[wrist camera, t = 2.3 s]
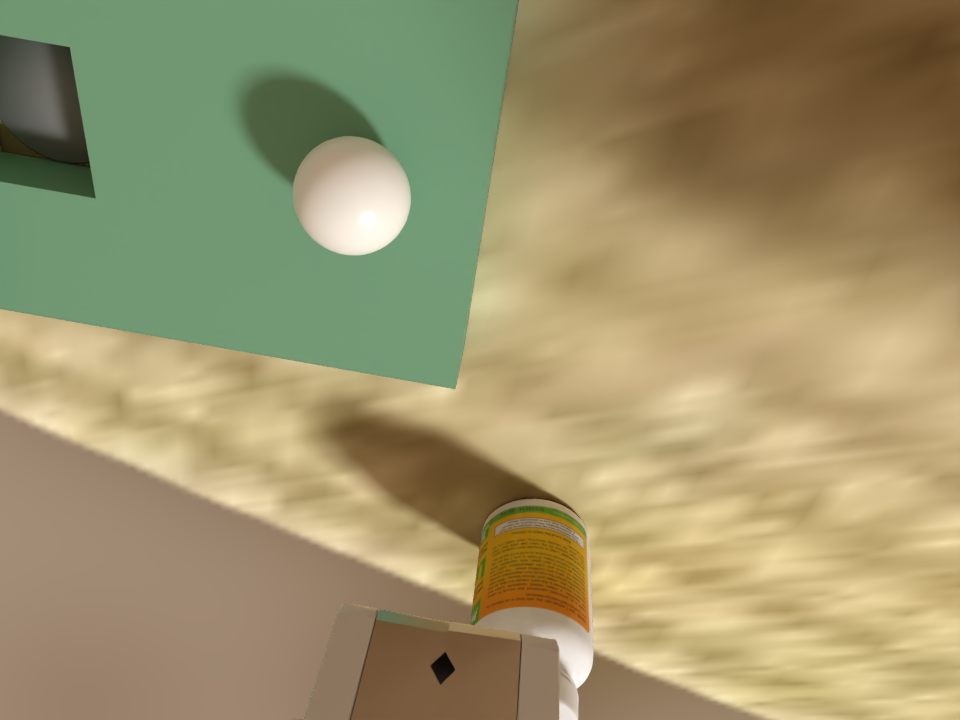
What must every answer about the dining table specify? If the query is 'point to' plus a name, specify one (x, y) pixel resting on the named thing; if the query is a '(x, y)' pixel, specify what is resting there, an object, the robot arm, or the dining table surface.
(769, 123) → the dining table surface
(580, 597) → the supplement bottle
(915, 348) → the dining table surface
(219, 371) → the dining table surface
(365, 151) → the ball
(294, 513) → the dining table surface
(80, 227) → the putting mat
